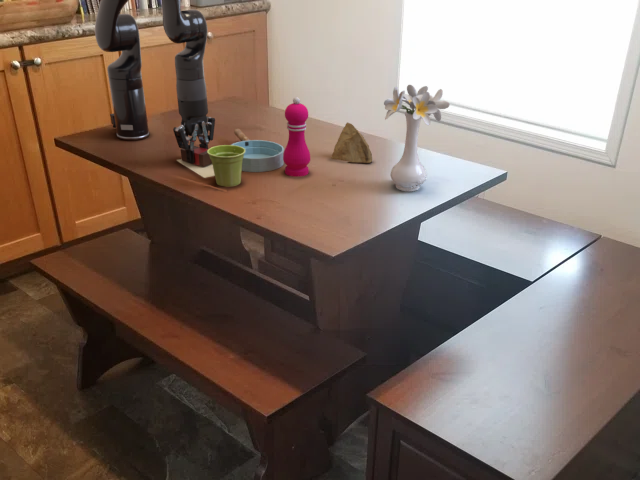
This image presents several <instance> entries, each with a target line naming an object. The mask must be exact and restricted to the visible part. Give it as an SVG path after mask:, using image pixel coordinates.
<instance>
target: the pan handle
mask: <svg viewBox="0 0 640 480" xmlns="http://www.w3.org/2000/svg"><path fill="white" fill-rule="evenodd" d="M233 131H234V132H233V133H234V135H235V136H236V137H237V138H238V140H239V141H240V142H241V141H248V140H251V139H250V138H249V137H248V136H247V135H245V133H244V132H243V131H242V130H241V129H240V128H235V130H233ZM245 146H249V143H248V142H245Z"/></svg>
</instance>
